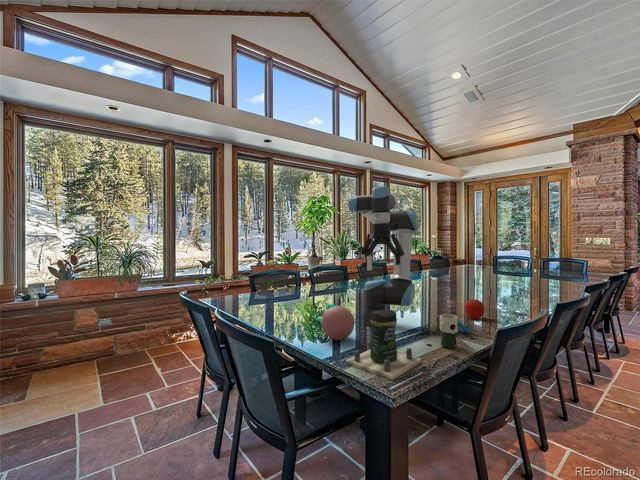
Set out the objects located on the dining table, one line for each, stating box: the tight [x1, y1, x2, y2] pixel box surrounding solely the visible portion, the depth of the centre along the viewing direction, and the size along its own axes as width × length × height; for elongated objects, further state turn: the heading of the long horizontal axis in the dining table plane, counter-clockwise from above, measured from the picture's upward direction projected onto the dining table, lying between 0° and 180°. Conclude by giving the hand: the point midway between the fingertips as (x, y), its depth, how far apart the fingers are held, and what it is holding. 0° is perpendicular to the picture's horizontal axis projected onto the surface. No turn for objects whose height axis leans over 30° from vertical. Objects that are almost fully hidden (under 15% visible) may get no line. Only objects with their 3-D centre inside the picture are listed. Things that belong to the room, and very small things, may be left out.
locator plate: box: [345, 347, 422, 380], centre depth 118 cm, size 20×20×5 cm
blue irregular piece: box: [457, 320, 471, 334], centre depth 153 cm, size 11×6×10 cm
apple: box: [464, 297, 485, 320], centre depth 178 cm, size 10×10×12 cm
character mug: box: [439, 313, 459, 349], centre depth 134 cm, size 11×7×13 cm, turn 127°
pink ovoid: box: [320, 305, 355, 341], centre depth 148 cm, size 15×20×15 cm
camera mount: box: [316, 303, 336, 324], centre depth 174 cm, size 12×8×10 cm, turn 39°
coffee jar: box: [370, 309, 398, 363], centre depth 118 cm, size 10×8×19 cm
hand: (382, 271), depth 138 cm, fingers open, 13 cm apart
